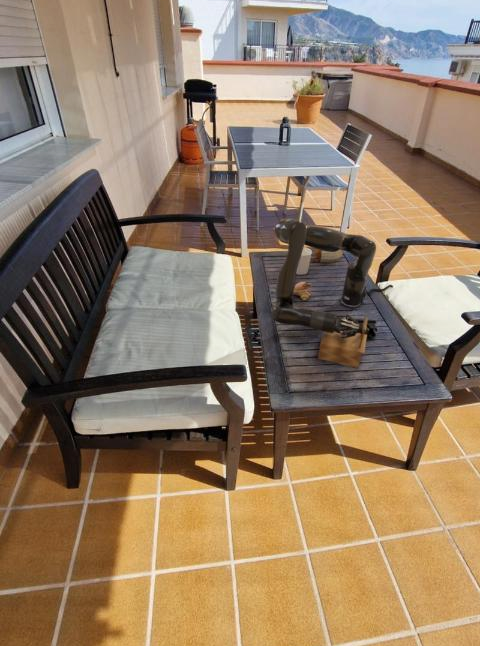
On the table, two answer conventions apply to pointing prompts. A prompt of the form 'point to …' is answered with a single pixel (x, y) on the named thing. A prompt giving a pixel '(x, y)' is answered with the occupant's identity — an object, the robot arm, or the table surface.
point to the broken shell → (302, 290)
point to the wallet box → (339, 356)
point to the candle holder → (304, 261)
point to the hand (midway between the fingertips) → (368, 331)
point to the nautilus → (326, 256)
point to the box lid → (347, 340)
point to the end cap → (371, 327)
